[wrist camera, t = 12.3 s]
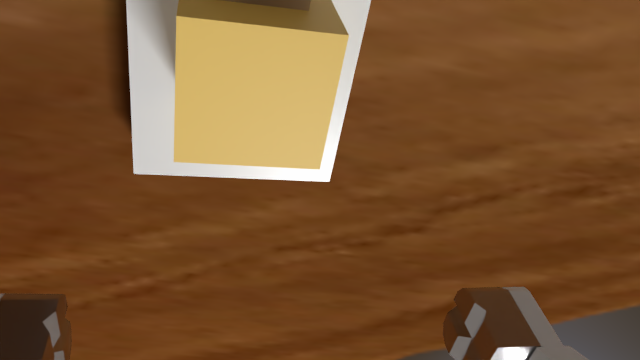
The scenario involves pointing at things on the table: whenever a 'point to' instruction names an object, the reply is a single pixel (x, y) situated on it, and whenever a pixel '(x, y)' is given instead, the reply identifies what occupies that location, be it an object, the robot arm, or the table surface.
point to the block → (255, 82)
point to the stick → (279, 3)
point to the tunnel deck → (159, 94)
